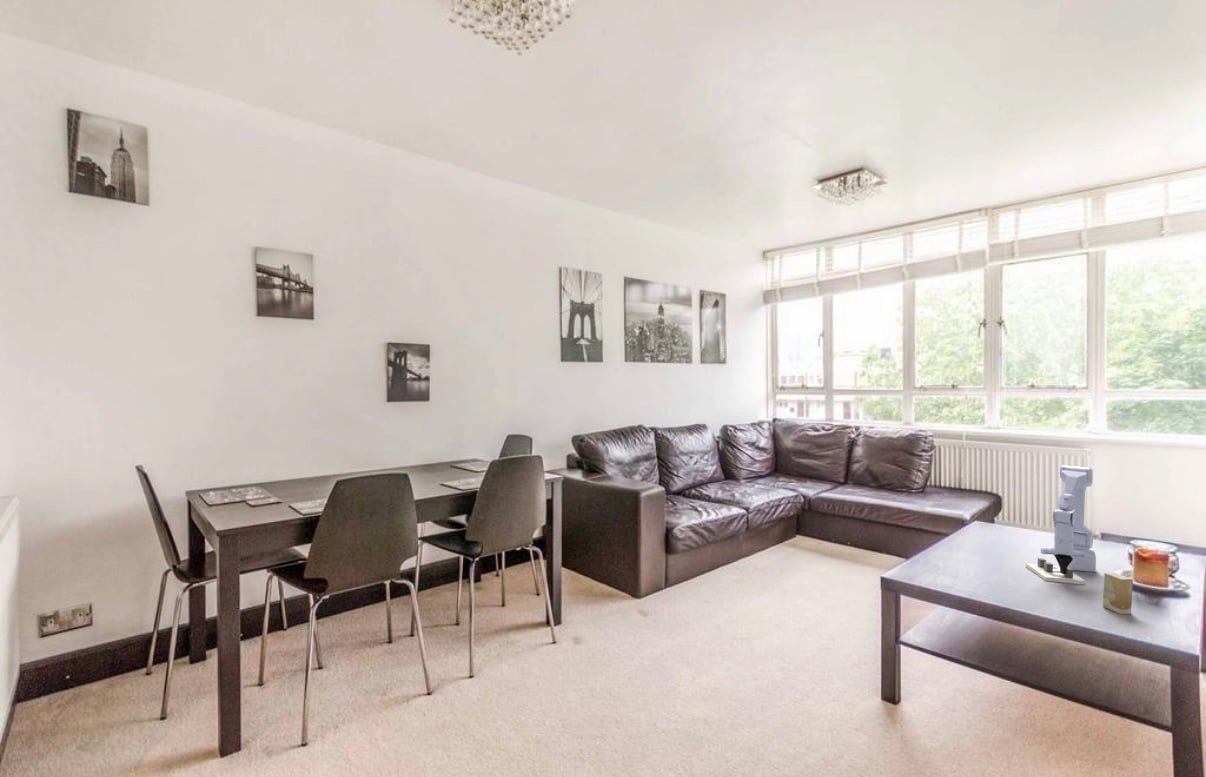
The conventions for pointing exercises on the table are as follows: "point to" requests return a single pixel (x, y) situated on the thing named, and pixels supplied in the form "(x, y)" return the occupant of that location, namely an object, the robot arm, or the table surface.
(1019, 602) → the table surface
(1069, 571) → the breaker
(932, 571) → the table surface
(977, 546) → the table surface
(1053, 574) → the breaker panel
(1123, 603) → the skincare box
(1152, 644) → the table surface
